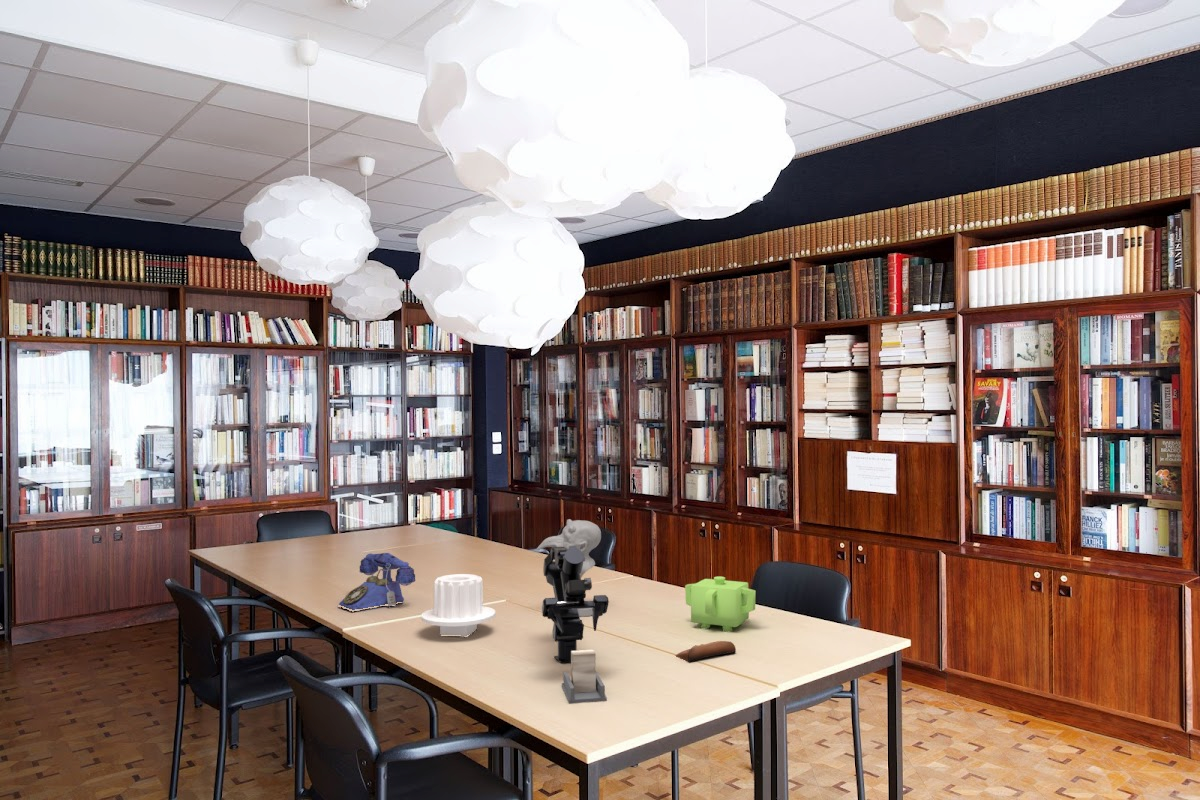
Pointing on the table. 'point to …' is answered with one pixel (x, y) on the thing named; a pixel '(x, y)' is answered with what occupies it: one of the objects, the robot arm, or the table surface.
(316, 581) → the table surface
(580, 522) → the bust sculpture
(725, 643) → the brown elongated lump
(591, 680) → the cream block
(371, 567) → the rotary telephone
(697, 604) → the storage box
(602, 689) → the gray chute
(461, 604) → the flanged gear
